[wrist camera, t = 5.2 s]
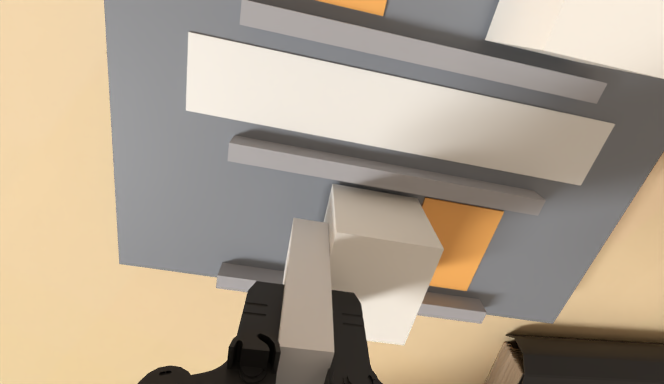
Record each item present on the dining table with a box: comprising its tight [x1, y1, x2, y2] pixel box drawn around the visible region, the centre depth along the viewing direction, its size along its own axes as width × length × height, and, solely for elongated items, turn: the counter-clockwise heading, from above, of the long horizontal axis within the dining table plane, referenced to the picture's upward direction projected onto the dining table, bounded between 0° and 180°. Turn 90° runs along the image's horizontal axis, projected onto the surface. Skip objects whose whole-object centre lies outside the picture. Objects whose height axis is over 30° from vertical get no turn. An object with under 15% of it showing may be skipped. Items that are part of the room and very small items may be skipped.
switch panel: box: [104, 0, 664, 324], centre depth 16 cm, size 20×24×3 cm
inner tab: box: [324, 184, 444, 345], centre depth 16 cm, size 5×4×4 cm
